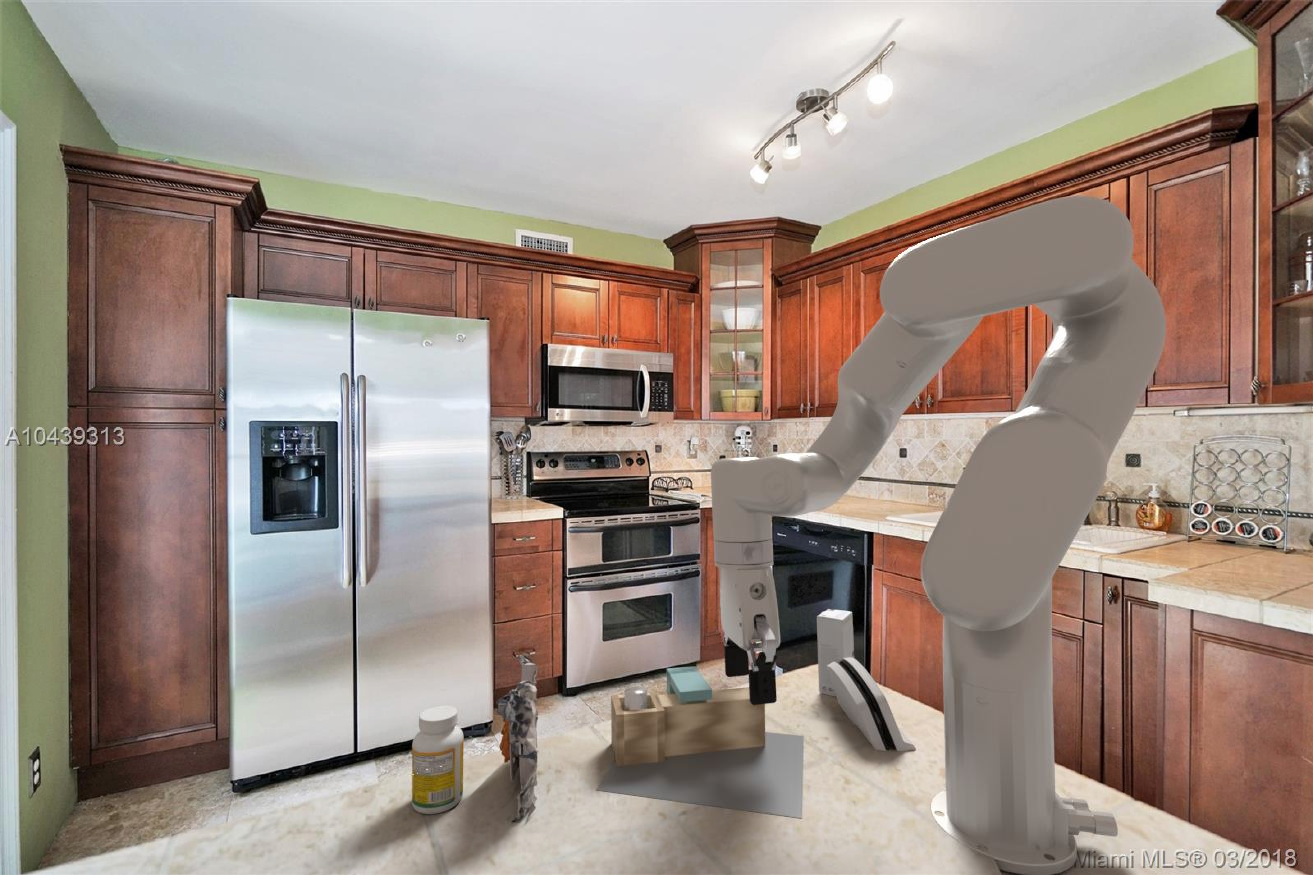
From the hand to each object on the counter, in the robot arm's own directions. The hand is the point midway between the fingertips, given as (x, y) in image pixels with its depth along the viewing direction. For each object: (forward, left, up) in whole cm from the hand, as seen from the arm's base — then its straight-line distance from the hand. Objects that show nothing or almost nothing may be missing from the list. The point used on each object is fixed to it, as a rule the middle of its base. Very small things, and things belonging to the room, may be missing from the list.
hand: (749, 688), depth 76 cm
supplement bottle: (+32, +19, -8) cm, 38 cm away
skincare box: (-12, -23, -8) cm, 27 cm away
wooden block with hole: (+7, +3, -7) cm, 10 cm away
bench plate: (+4, +6, -8) cm, 11 cm away
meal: (+24, +15, -8) cm, 30 cm away
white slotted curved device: (-15, -10, -8) cm, 20 cm away
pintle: (+13, +6, -7) cm, 16 cm away
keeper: (+8, +1, -7) cm, 10 cm away
